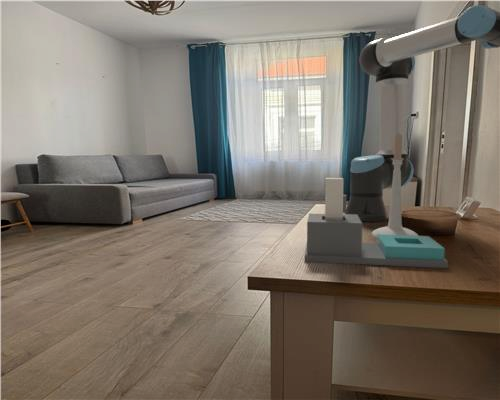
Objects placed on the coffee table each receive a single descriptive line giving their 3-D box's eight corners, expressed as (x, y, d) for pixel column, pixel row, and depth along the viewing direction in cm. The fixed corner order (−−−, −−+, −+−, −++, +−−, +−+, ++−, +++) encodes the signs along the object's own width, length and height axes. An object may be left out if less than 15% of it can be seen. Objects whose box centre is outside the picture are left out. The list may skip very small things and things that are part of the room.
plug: (325, 229, 86) (325, 179, 84) (324, 226, 90) (325, 177, 88) (345, 230, 85) (347, 179, 83) (344, 226, 89) (346, 177, 87)
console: (304, 261, 83) (304, 222, 81) (307, 246, 96) (307, 212, 95) (447, 268, 77) (450, 226, 76) (428, 251, 90) (430, 215, 89)
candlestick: (391, 242, 99) (395, 131, 95) (362, 233, 111) (365, 134, 107) (428, 239, 103) (434, 132, 100) (396, 230, 115) (400, 134, 112)
